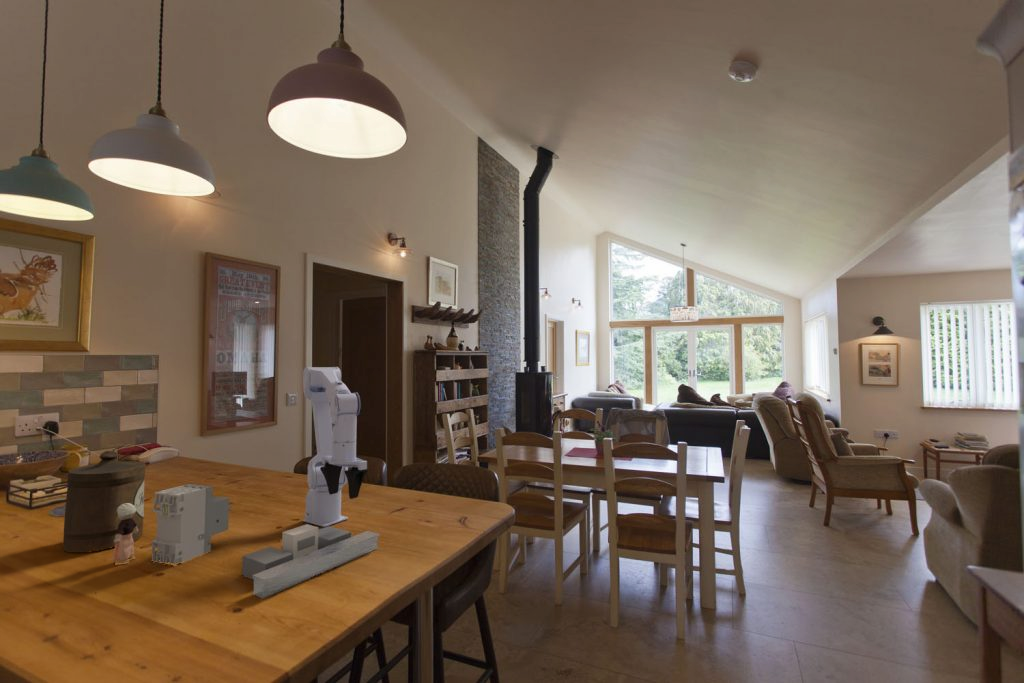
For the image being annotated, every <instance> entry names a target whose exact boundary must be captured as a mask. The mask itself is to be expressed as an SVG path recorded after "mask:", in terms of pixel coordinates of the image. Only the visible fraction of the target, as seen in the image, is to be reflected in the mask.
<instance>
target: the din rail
mask: <svg viewBox="0 0 1024 683" xmlns="http://www.w3.org/2000/svg"><path fill="white" fill-rule="evenodd" d="M378 537H380V533H377V532H373V531H369V530H366V531H363V532H361V533H358V534H355V535H353V536H351V537H350V538H348V539H345V540H342V541H340V542H337V543H335V544H332V545H329V546H327V547H324V548H322V549H319V550H317V551H314V552H311V553H309V554H306V555H304V556H301V557H298V558H296V559H293V560H291V561H288V562H286V563H283V564H280V565H278V566H275V567H273V568H270V569H267V570H265V571H262V572H260V573H257V574H254V575H252V578H254V580H253V594H254V595H253V596H255V595H256V596H255V597H257V596H258V597H257V598H259V597H260V598H259V599H262V600H264V599H265V598H268V597H270V596H273V595H275V594H277V593H279V592H282V591H284V590H286V588H287V589H289V588H291V587H294V586H296V585H298V584H300V583H303V582H305V581H307V580H309V579H312V578H313V576H314V577H316V576H319V575H321V574H323V573H325V572H328V571H330V570H332V569H335V568H337V567H339V566H341V565H343V564H346V563H348V562H349V561H352V560H355V559H358V558H359V557H362V556H364V555H366V554H368V553H370V552H373V551H375V550H378ZM334 567H335V568H334ZM327 570H328V571H327ZM322 572H323V573H322ZM320 573H321V574H320ZM318 574H319V575H318ZM315 575H316V576H315ZM311 577H312V578H311ZM302 581H303V582H302Z"/></svg>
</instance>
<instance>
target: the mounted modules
mask: <svg viewBox="0 0 1024 683" xmlns="http://www.w3.org/2000/svg"><path fill="white" fill-rule="evenodd" d="M350 537H352V531H348V530H345V529H342V528H337V527H333V526H331V525H329V526H326V527H322V528H320V529H319V528H318V550H319V549H322V548H324V547H327V546H329V545H332V544H335V543H337V542H340V541H342V540H345V539H348V538H350ZM241 560H242V561H241V564H242V565H241V576H242V575H244V576H246V577H248V578H247V579H249V578H250V579H249V580H251V579H252V581H254V578H252V575H254V574H257V573H260V572H262V571H265V570H267V569H270V568H273V567H275V566H278V565H280V564H283V563H286V562H288V561H291V560H293V554H292V553H289V552H286V551H283V550H282V549H279V548H276V547H273V546H271V545H270V546H267V547H264V548H261V549H258V550H256V551H252V552H250V553H247V554H244V555H242V558H241ZM244 576H243V577H244ZM246 577H245V578H246Z"/></svg>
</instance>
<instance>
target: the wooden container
mask: <svg viewBox="0 0 1024 683" xmlns="http://www.w3.org/2000/svg"><path fill="white" fill-rule="evenodd" d="M118 457H119V455H118V453H117V452H116V451H115V450H105V451H104V452H102V453H101V454H99V458H100V459H101V460H100V461H99V462H98V463H95V464H88V465H83V466H79V467H78V466H77V467H74V468H72V469H70V470H68V474H67V487H66V498H65V509H64V520H63V521H64V522H63V539H62V541H63V542H62V543H63V544H62V550H63V551H64V552H67V553H71V552H87V553H90V552H89V551H96V552H98V551H97V550H102V549H107V548H110V547H115V545H116V543H114V540H115V536H116V531H117V529H118V525H119V523H120V522H121V521H122V520H120V519H119V518H118V512H117V509H118V507H119V506H120V505H122V504H125V503H130V504H132V505H134V506H135V508H136V512H135V513H134V514H133V515H132V517H131V518H133V520H134V521H135V523H136V524H137V529H138V532H137V533H132V538H133V542H135V541H137V540H139V539H140V538H141V537H143V530H144V529H143V528H144V512H145V476H146V462H144V461H136V460H135V461H134V460H133V461H132V460H129V461H128V460H127V461H119V459H117V458H118ZM138 538H139V539H138ZM134 540H135V541H134ZM107 550H108V549H107ZM102 551H103V550H102Z"/></svg>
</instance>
